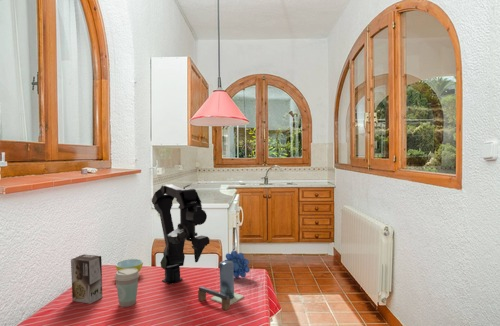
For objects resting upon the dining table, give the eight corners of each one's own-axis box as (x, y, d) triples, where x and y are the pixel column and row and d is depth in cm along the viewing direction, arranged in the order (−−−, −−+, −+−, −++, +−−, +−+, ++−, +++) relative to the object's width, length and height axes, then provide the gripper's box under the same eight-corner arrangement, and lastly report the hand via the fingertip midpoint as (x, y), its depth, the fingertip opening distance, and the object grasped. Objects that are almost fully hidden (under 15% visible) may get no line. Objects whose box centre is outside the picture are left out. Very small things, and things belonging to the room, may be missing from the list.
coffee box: (103, 297, 127) (102, 255, 127) (90, 304, 121) (89, 260, 120) (85, 294, 130) (84, 253, 130) (71, 301, 124) (70, 258, 123)
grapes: (221, 280, 142) (221, 253, 142) (225, 274, 149) (225, 248, 149) (248, 282, 140) (247, 254, 140) (250, 276, 147) (250, 249, 146)
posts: (198, 299, 123) (198, 290, 123) (202, 297, 125) (202, 288, 125) (226, 310, 115) (225, 300, 115) (229, 308, 116) (229, 298, 116)
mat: (210, 299, 124) (210, 298, 124) (226, 291, 131) (226, 290, 131) (228, 305, 118) (228, 304, 118) (244, 297, 125) (244, 295, 125)
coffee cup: (115, 300, 123) (114, 269, 123) (138, 296, 127) (138, 266, 126) (115, 310, 116) (114, 277, 115) (140, 306, 119) (140, 273, 119)
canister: (218, 299, 123) (217, 264, 122) (222, 293, 128) (221, 260, 127) (232, 300, 121) (231, 265, 121) (235, 294, 127) (234, 260, 126)
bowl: (134, 282, 142) (134, 267, 142) (110, 280, 144) (110, 266, 144) (147, 272, 153) (147, 259, 153) (125, 271, 155) (125, 258, 155)
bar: (198, 290, 124) (198, 287, 124) (201, 289, 125) (201, 286, 125) (226, 299, 115) (226, 296, 115) (228, 298, 116) (228, 295, 116)
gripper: (156, 221, 129) (156, 260, 129) (188, 227, 117) (189, 270, 118) (178, 217, 138) (178, 253, 138) (210, 222, 126) (210, 262, 127)
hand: (188, 259), depth 130 cm, fingers open, 9 cm apart
